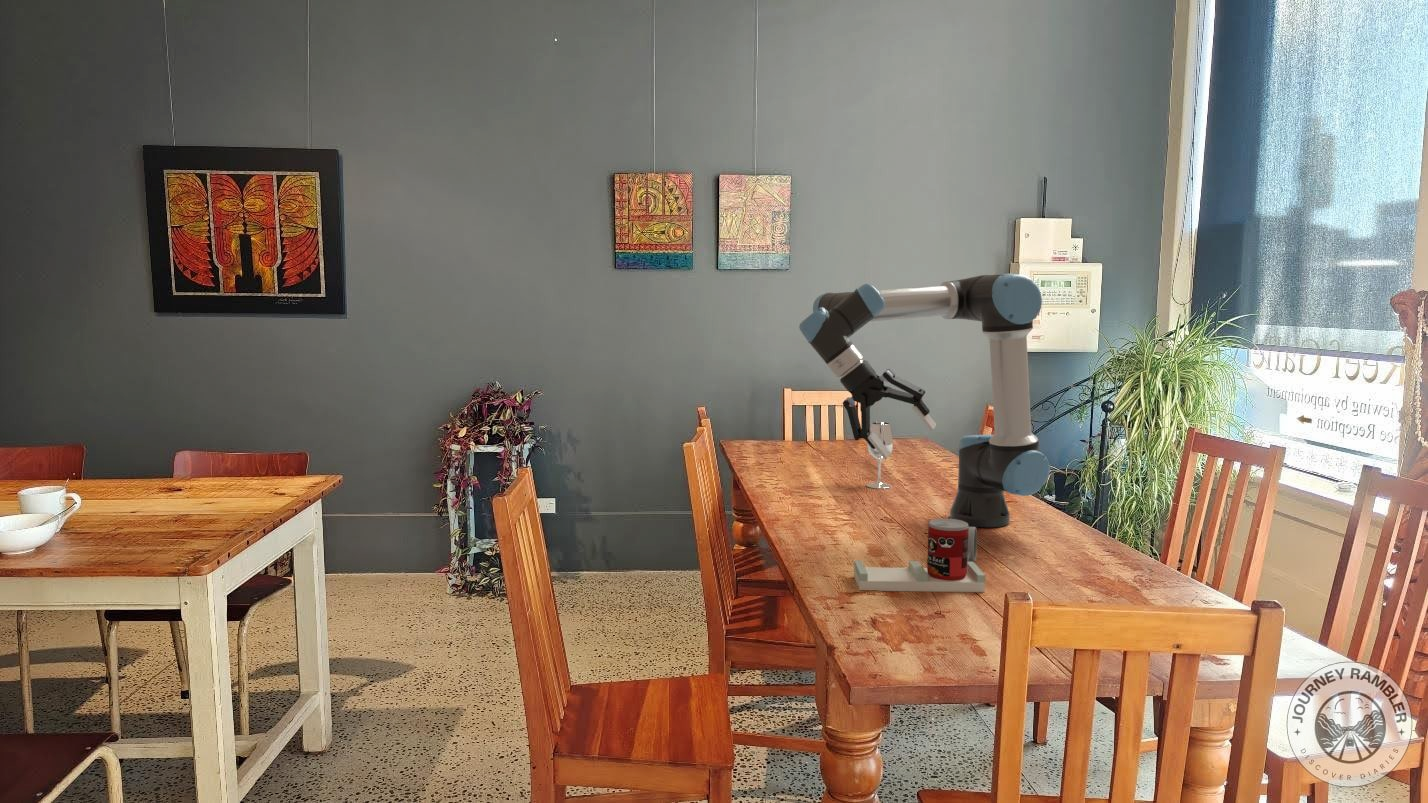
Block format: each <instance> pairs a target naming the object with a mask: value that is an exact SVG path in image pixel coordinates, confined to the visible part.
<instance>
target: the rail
mask: <svg viewBox="0 0 1428 803" xmlns="http://www.w3.org/2000/svg"><path fill="white" fill-rule="evenodd" d="M853 563H854V564H853V578H854V577H855V578H854V580H855V582H856V585H857V587H858V589H860V590H879V591H878V592H933V593H934V592H936V593H937V592H938V593H939V592H940V593H942V592H943V593H944V592H946V593H948V592H949V593H950V592H951V593H959V592H960V593H985V592H986V574H985V573H984V571H982V570H981V568H980V567H979V566H978V565H977V564H976V563H975V562H972V561H968V562H967V574H966V576H965V578H963V579H960V580H941V579H937V578H933V577H931V576H930V575H929V574H928V571H927V567H923V565H921V563H920V561H919V560H908V567H884V566H883V567H876V566H875V567H873V566H872V567H870V566H869V567H868V566H866V567H865V564H864V563H863V561H862V560H860V559H859V560H858V559H854V561H853ZM860 590H859V591H860Z"/></svg>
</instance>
